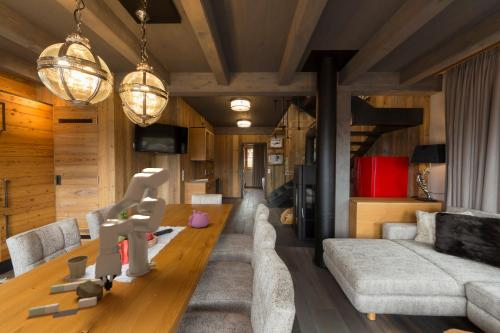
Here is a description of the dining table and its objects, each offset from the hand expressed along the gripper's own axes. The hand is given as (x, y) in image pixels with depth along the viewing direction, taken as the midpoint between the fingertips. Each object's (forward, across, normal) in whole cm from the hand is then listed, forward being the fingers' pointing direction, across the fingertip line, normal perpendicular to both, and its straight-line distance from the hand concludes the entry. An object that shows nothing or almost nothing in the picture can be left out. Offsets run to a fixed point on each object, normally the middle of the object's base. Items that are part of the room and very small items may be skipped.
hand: (108, 289), depth 102 cm
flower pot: (+2, +20, -24) cm, 31 cm away
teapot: (0, -52, -99) cm, 112 cm away
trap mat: (+2, +12, +10) cm, 16 cm away
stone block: (+3, +10, -1) cm, 10 cm away
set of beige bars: (+2, +14, 0) cm, 14 cm away
